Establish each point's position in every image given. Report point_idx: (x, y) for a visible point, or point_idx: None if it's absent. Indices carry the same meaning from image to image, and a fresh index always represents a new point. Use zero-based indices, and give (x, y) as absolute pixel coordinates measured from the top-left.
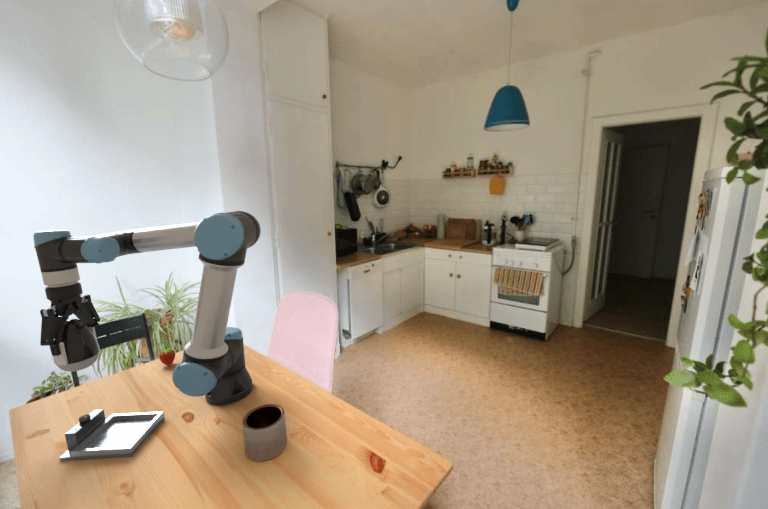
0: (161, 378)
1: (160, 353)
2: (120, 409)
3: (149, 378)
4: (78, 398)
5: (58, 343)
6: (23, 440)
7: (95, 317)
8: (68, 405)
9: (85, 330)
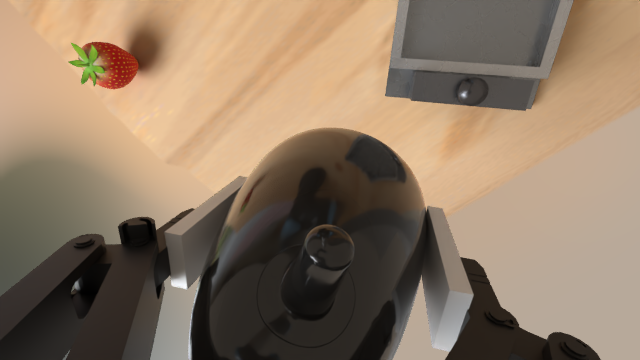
0: (198, 48)
1: (106, 82)
2: (336, 82)
3: (198, 86)
4: None
5: (491, 309)
6: None
7: (74, 270)
8: None
9: (293, 228)
